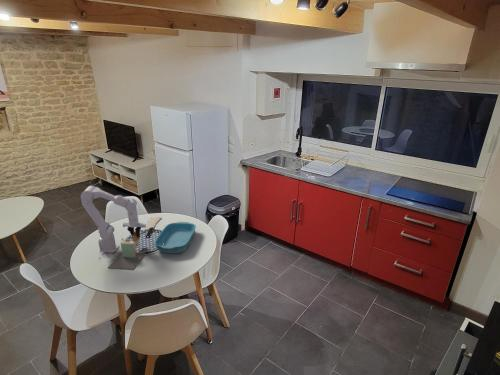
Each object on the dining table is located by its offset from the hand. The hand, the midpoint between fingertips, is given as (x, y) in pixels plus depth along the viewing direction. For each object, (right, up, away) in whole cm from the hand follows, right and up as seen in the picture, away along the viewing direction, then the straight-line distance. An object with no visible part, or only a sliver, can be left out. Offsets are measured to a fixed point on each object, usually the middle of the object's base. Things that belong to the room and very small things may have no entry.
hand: (135, 236), depth 206 cm
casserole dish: (+25, -6, +10) cm, 27 cm away
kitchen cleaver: (0, +2, +30) cm, 30 cm away
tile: (-1, -7, -10) cm, 12 cm away
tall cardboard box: (0, -4, -1) cm, 4 cm away
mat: (-1, -13, -10) cm, 17 cm away
